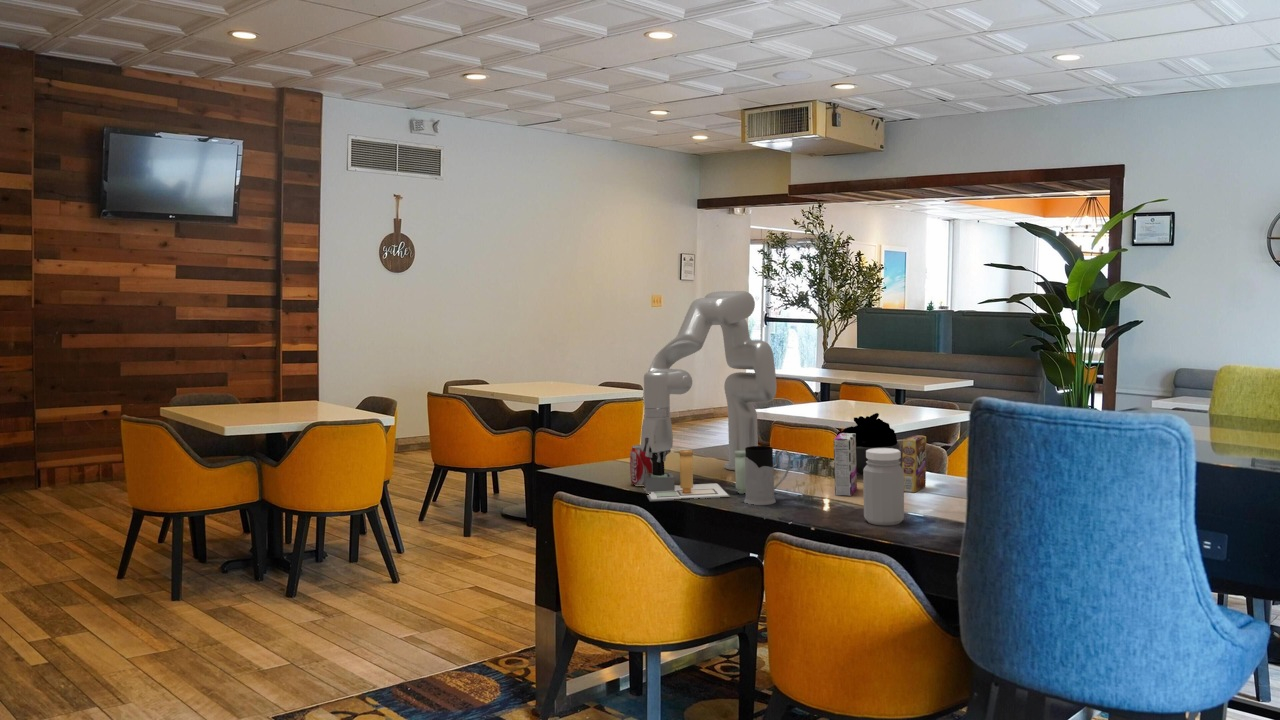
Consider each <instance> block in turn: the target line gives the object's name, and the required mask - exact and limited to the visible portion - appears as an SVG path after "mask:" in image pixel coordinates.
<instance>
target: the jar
mask: <svg viewBox="0 0 1280 720" xmlns="http://www.w3.org/2000/svg"><path fill="white" fill-rule="evenodd" d="M901 453H902V452H901V450H900V449H899V450H898V449H893V448H873V449H868V450H866V458H867V459H868V461H866V463H867V465H866V466H865V468H864V469H863V475H862V476H863V479H862V480H863V517H864V519H865V521H866V522H868V524H871V525H876V526H895V525H899V524H901V523H902V522H903V520H904V519H905V492H904V470H903V469H902V464H901V463H902V462H901V461H900V459H901V458H902V457H901V456H902V454H901Z"/></svg>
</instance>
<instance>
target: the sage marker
mask: <svg viewBox="0 0 1280 720" xmlns="http://www.w3.org/2000/svg"><path fill="white" fill-rule="evenodd" d="M745 458H746V455H745V450H737V451H735V470H734V471H735V478H734V479H735V489H737V494H738V493H739V494H740V495H745V494H746V488H745ZM744 493H745V494H744Z"/></svg>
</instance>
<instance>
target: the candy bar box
mask: <svg viewBox="0 0 1280 720" xmlns="http://www.w3.org/2000/svg"><path fill="white" fill-rule="evenodd" d="M836 436H837V435H836ZM836 436H835V437H834V438H833V463H834V464H833V465H834V469H833V471H834V495H835V496H837V497H852V496H853V495H854V493H855V492H856V490H857V489H858V479H857V478H858V475H857V470H856V434H855V433H840V434H839V435H838V436H837V437H836Z"/></svg>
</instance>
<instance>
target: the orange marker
mask: <svg viewBox="0 0 1280 720" xmlns="http://www.w3.org/2000/svg"><path fill="white" fill-rule="evenodd" d="M693 455H694V453H693V450H692V449H680V450H679V465H680V466H679V474H680V476H679V477H680V478H679V483H680V484H679V485H680V488H683V493H691V488H693V484H694V480H693V479H694V478H693V477H694V476H693V475H694V471H693V469H694V468H693V466H694V465H693Z"/></svg>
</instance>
